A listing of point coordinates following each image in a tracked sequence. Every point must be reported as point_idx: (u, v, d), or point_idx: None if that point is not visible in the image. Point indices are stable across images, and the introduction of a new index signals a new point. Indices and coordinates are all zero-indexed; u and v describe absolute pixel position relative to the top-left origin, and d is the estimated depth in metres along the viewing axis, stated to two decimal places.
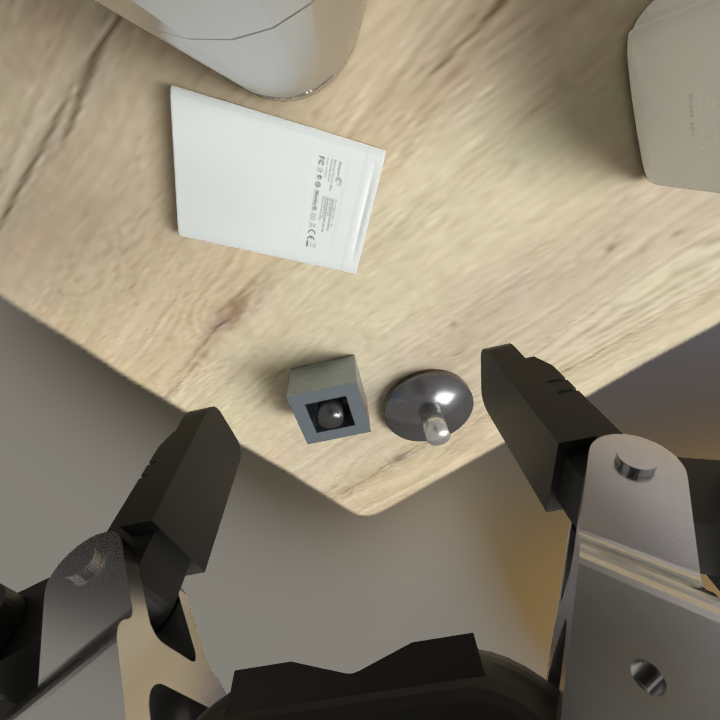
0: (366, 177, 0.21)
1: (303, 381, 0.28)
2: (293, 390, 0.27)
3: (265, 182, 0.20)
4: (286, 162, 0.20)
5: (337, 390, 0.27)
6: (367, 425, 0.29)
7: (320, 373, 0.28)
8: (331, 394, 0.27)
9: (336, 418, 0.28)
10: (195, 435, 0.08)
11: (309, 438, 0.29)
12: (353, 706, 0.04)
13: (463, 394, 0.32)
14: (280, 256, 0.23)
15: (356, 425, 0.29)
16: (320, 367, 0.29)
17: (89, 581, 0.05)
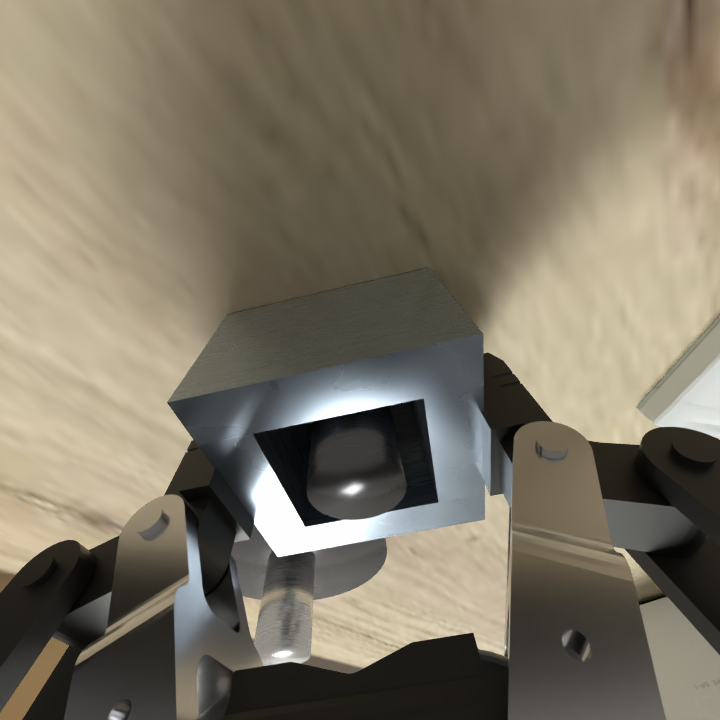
0: None
1: None
2: None
3: None
4: None
5: (466, 484, 0.08)
6: (304, 549, 0.09)
7: None
8: (455, 472, 0.08)
9: (360, 503, 0.07)
10: None
11: (213, 409, 0.06)
12: (353, 706, 0.04)
13: (339, 587, 0.17)
14: None
15: (303, 529, 0.09)
16: None
17: (160, 536, 0.06)
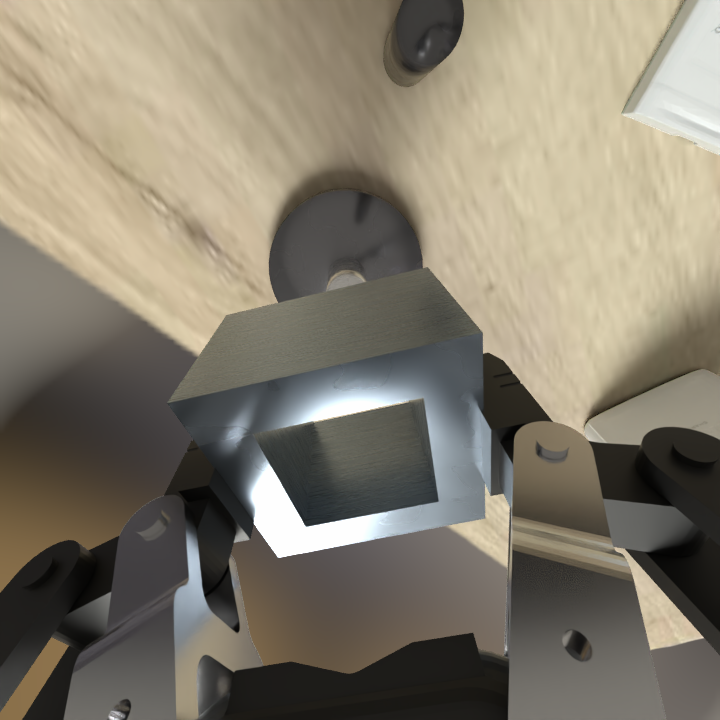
0: None
1: None
2: None
3: None
4: None
5: (466, 483, 0.08)
6: (305, 549, 0.09)
7: None
8: (455, 471, 0.08)
9: (431, 41, 0.11)
10: None
11: (213, 410, 0.06)
12: (353, 706, 0.04)
13: None
14: None
15: (304, 529, 0.09)
16: None
17: (159, 536, 0.06)
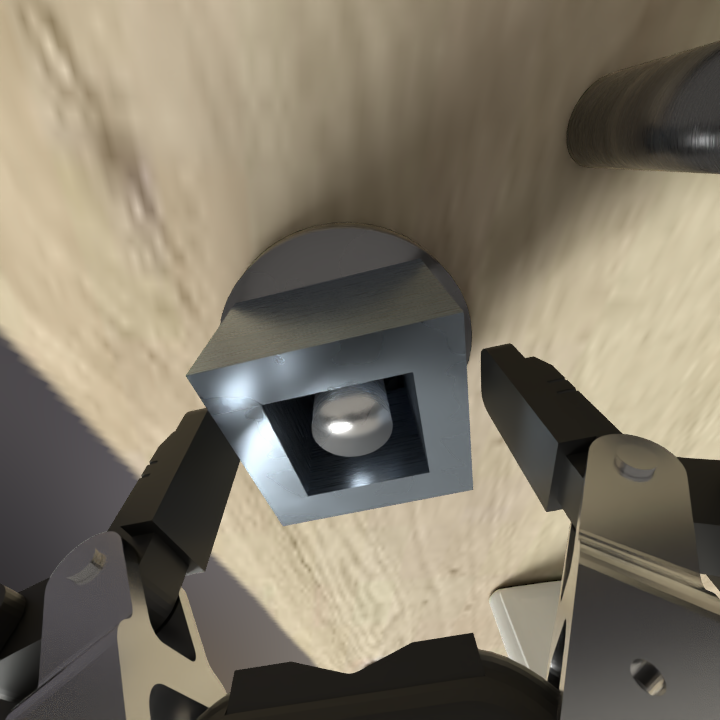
0: None
1: None
2: None
3: None
4: None
5: (454, 454, 0.09)
6: (307, 518, 0.10)
7: None
8: (443, 442, 0.09)
9: None
10: (195, 435, 0.08)
11: (226, 382, 0.07)
12: (353, 706, 0.04)
13: None
14: None
15: (306, 498, 0.09)
16: None
17: (89, 581, 0.05)
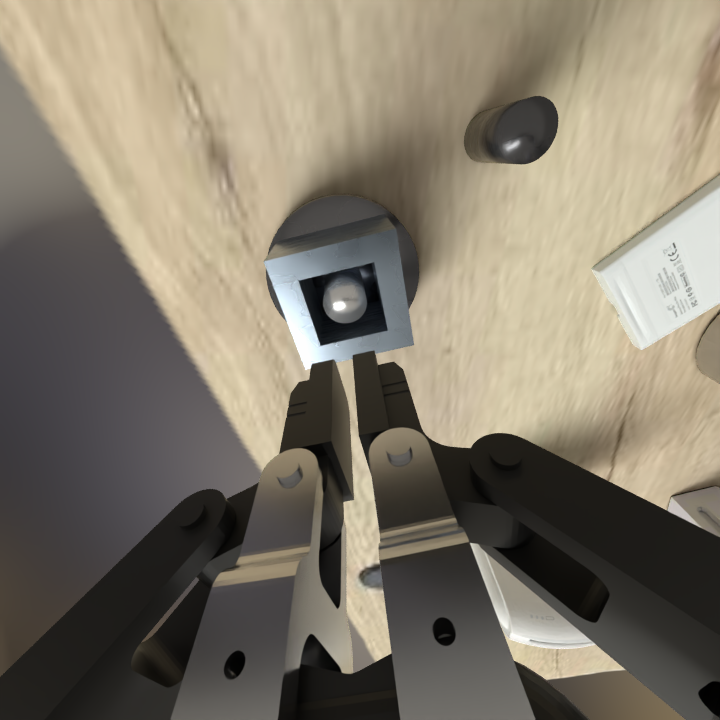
0: (648, 329, 0.22)
1: None
2: None
3: None
4: None
5: (400, 318, 0.16)
6: None
7: None
8: (393, 309, 0.16)
9: (522, 145, 0.13)
10: (332, 380, 0.09)
11: (282, 266, 0.14)
12: (353, 706, 0.04)
13: None
14: (697, 205, 0.18)
15: (319, 347, 0.17)
16: None
17: (303, 483, 0.06)
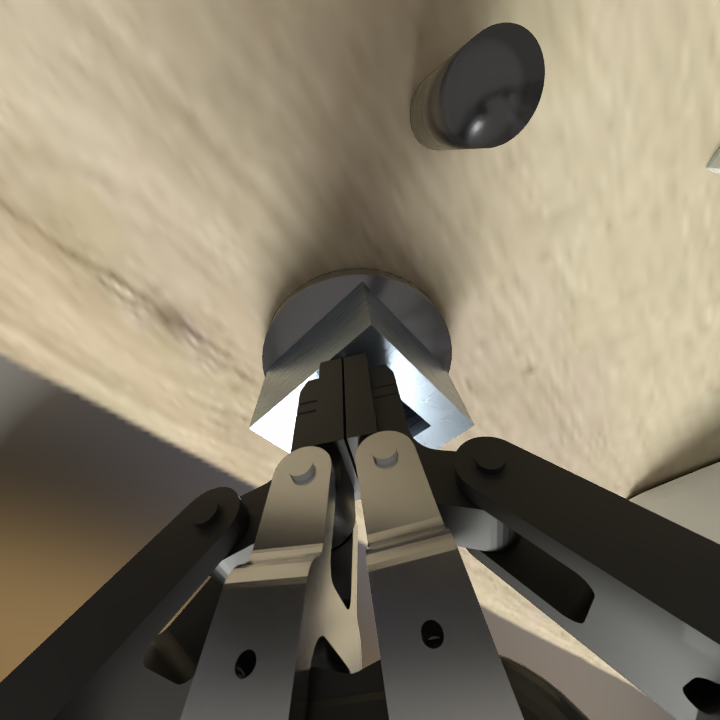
0: None
1: (392, 329, 0.12)
2: (380, 327, 0.11)
3: None
4: None
5: (438, 407, 0.12)
6: None
7: (412, 344, 0.13)
8: (424, 403, 0.12)
9: (494, 116, 0.08)
10: (342, 378, 0.09)
11: (270, 423, 0.12)
12: (353, 706, 0.04)
13: None
14: None
15: None
16: (408, 334, 0.14)
17: (317, 481, 0.06)
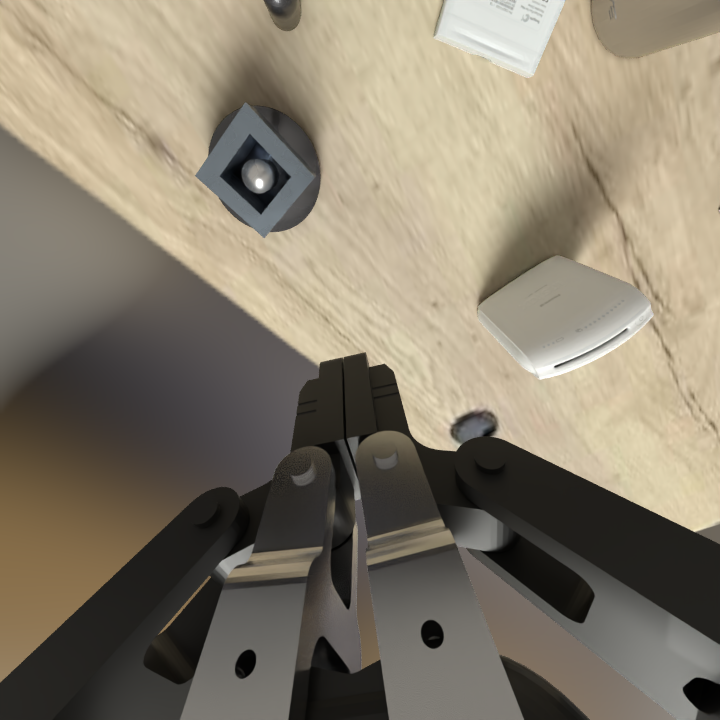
0: (521, 52, 0.24)
1: (266, 122, 0.23)
2: (254, 111, 0.22)
3: None
4: None
5: (292, 162, 0.23)
6: (269, 228, 0.25)
7: (284, 141, 0.24)
8: (283, 158, 0.23)
9: None
10: (342, 378, 0.09)
11: (205, 172, 0.23)
12: (353, 706, 0.04)
13: (296, 214, 0.28)
14: None
15: (261, 216, 0.25)
16: (285, 141, 0.25)
17: (317, 481, 0.06)
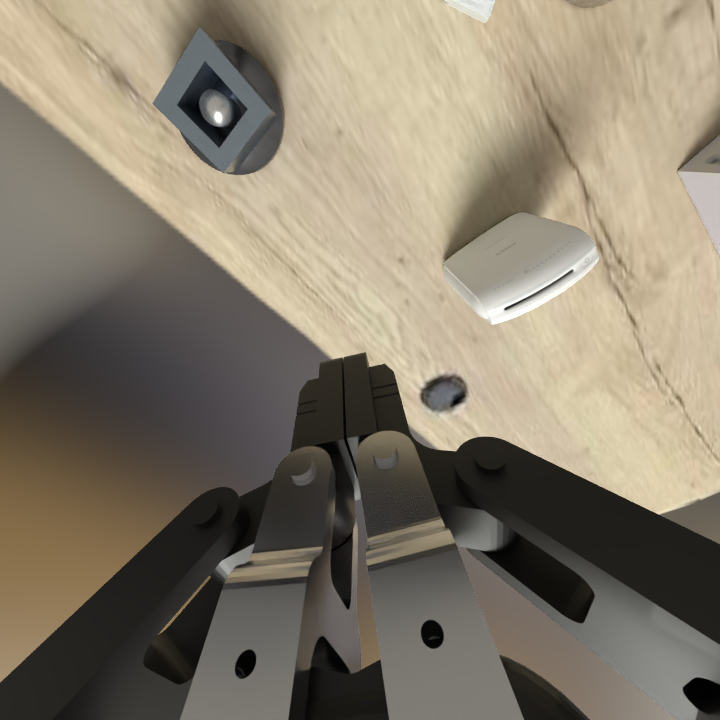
0: None
1: (224, 53, 0.23)
2: (210, 38, 0.22)
3: None
4: None
5: (248, 93, 0.23)
6: (228, 163, 0.26)
7: (243, 75, 0.25)
8: (239, 89, 0.23)
9: None
10: (342, 378, 0.09)
11: (162, 100, 0.23)
12: (353, 706, 0.04)
13: (259, 157, 0.29)
14: None
15: (219, 150, 0.25)
16: (245, 77, 0.25)
17: (317, 481, 0.06)
